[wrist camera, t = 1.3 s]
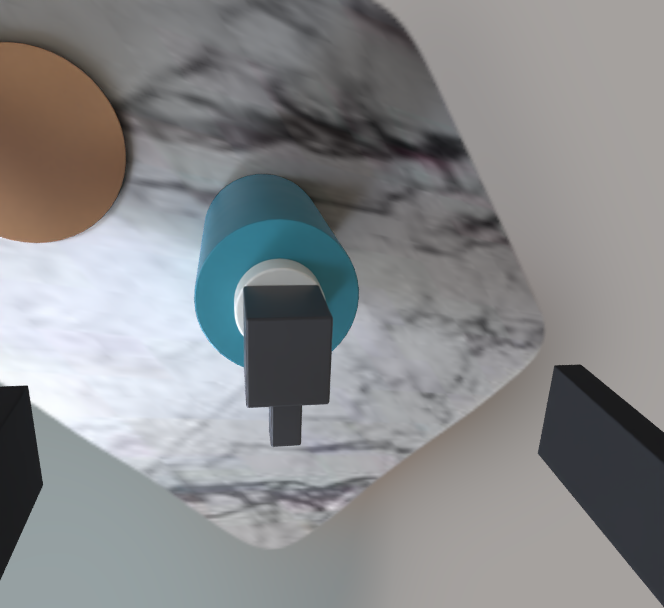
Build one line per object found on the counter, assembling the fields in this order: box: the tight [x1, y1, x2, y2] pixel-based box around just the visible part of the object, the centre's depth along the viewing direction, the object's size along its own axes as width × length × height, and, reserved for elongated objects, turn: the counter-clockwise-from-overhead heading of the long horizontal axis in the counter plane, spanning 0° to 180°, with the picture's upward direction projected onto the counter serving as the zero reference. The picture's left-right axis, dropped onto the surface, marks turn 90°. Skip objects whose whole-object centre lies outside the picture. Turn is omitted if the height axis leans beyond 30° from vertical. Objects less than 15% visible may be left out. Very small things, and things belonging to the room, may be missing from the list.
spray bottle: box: [194, 174, 359, 447], centre depth 25 cm, size 7×6×14 cm
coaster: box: [0, 42, 126, 243], centre depth 28 cm, size 9×9×1 cm
